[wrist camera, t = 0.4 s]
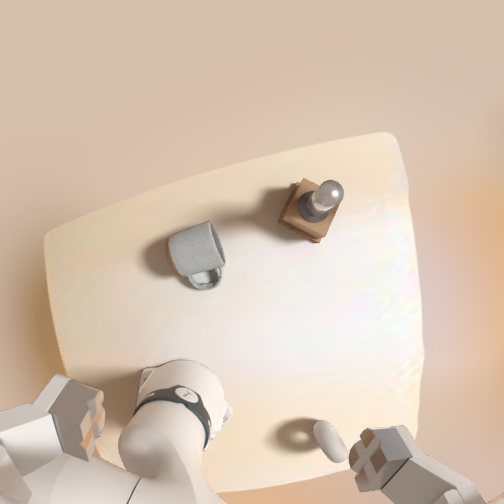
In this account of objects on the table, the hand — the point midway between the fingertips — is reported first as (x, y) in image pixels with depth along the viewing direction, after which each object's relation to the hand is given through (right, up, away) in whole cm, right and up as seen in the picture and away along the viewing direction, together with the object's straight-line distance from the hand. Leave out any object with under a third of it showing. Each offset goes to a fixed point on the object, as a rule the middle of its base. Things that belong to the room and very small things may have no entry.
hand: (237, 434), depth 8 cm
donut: (+15, -30, +44) cm, 55 cm away
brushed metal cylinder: (+10, +12, +38) cm, 42 cm away
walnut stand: (+10, +12, +45) cm, 47 cm away
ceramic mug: (-8, +4, +45) cm, 46 cm away
